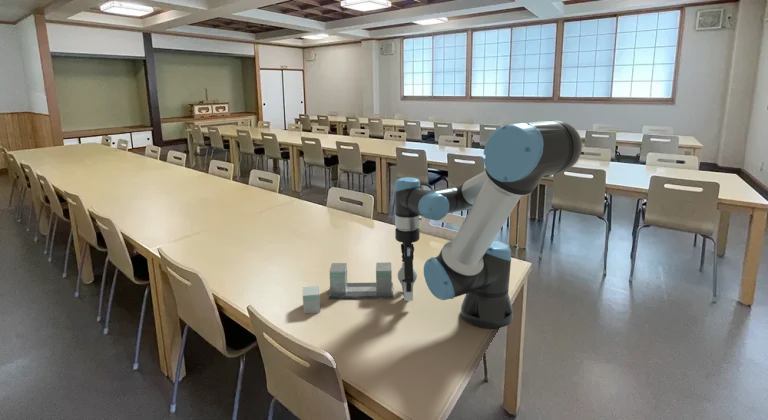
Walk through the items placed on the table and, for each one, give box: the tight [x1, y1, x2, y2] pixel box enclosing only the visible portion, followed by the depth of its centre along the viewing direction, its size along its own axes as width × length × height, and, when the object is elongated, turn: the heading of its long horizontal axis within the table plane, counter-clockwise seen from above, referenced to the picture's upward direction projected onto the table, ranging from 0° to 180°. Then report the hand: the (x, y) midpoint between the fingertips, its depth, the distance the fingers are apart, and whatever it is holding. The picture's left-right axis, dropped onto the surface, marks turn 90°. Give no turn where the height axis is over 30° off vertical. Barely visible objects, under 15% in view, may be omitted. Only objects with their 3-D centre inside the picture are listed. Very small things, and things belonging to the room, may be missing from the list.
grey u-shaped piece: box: [328, 261, 394, 300], centre depth 148 cm, size 10×21×9 cm, turn 90°
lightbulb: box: [397, 266, 418, 297], centre depth 143 cm, size 6×6×11 cm
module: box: [302, 285, 321, 314], centre depth 137 cm, size 6×5×6 cm
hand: (407, 290), depth 143 cm, fingers open, 13 cm apart
